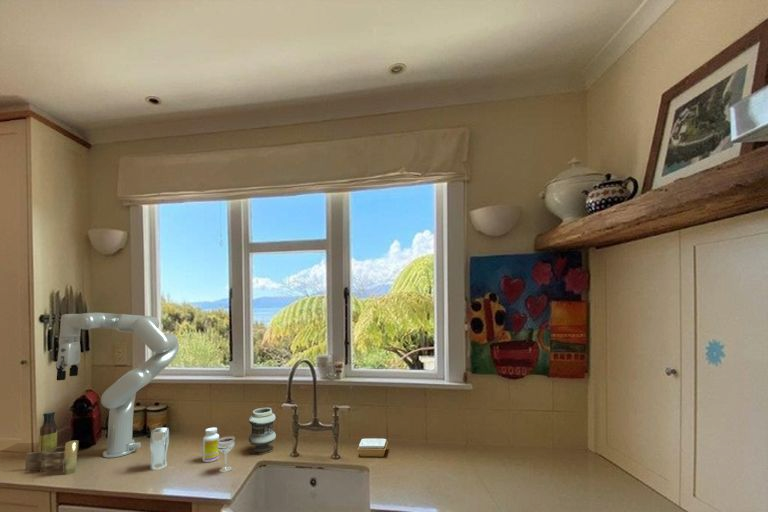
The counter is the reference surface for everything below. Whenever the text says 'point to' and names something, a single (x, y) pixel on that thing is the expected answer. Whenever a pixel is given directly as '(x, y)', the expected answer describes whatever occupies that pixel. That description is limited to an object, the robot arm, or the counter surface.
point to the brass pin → (70, 457)
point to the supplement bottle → (210, 445)
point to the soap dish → (372, 447)
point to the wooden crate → (47, 460)
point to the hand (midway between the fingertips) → (67, 377)
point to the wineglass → (226, 449)
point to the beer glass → (159, 447)
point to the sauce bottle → (48, 432)
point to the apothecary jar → (262, 430)
